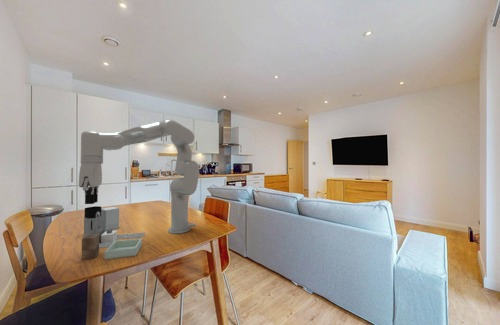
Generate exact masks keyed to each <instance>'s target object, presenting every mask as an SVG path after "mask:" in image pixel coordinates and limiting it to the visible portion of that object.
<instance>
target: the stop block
mask: <svg viewBox="0 0 500 325" xmlns="http://www.w3.org/2000/svg"><path fill="white" fill-rule="evenodd" d="M98 255H100V248H99V234H92V235H86V236H85V237H83V236H82V238H81V255H80V256H81V257H80V258H81V261H85V260H92V259H93V260H95V258H96V257H98Z"/></svg>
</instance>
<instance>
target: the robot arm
mask: <svg viewBox="0 0 500 325" xmlns="http://www.w3.org/2000/svg"><path fill="white" fill-rule="evenodd" d="M80 135H81V136H80V167H79V176H78V187H79V188H82V190H83V191H84V205H94V204H95V203H96V204H97V203H98V202H99V201H98V198H99V197H98V196H99V194H98V193H99V187H100V186H101V185H102V183H103V170H102V169H103V168H102V165H103V164H104V150H105V151H118V150H120V149H122V148H124V147H126V146H130V145H135V144H137V145H138V144H142V143H143V144H144V143H147V142H150V141H154V140H157V139H159V138H164V137H167V136H168V137H169V136H170V141H171V143H172V144H173V145H174V146H175V148H176V151H177V155H176V161H175V167H174V170H175V171H174V172H175V174H176V175H178V176H180V177H177V178H174V179H173V180H172V181H171V182H170V185H169V191H170V198H171V199H170V200H171V201H170V202H171V208H170V209H171V212H170V213H171V216H170V219H171V220H170V227H169V228H168V230H167V231H168V233H169V234H175V235H177V234H185V233H187V232H189V231H190V230H191V227H192V228H194V227H196V223H194V222H189V198H188V196H191V195H194V194H195V193H196V191H197V188H198V183H199V177H200V176H199V175H200V166H199V164H198V162H197V161H195V160H192V157H193V156H192V155H193V151H192V148H191V144H193V142H194V141H195V135H194V132H193V131H192V130H191V129H189V128H187V127H185V126H184V125H182V124H181V123H179V122H177V121H175V120H173V119H165V120H160V121H156V122H150V123H147V124H142V125H138V126H135V127H131V128H129V129H125V130H122V131H117V132H111V133H109V132H99V131H89V130H85V131H82V132H81V134H80Z"/></svg>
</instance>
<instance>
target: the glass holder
mask: <svg viewBox="0 0 500 325" xmlns="http://www.w3.org/2000/svg"><path fill="white" fill-rule="evenodd" d="M101 209H102V206H96V205H95V206H87V207H85V208H84V216H83V235H82V238H83V237H85V236H86V235H92V234H99V233H100V232H101V231H102V230H101V229H102V214H101Z"/></svg>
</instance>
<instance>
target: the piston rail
mask: <svg viewBox="0 0 500 325" xmlns="http://www.w3.org/2000/svg"><path fill="white" fill-rule="evenodd" d="M106 231H107V230H102V231H101V232H100V233H99V249H102V248H109V246H110V245H111V244H112V243H113V242H105V243H101V235H102V234H103V233H105V232H106ZM145 236H146V232H134V233H125V234H124V233H123V234H117V240H121V239H123V240H125V239H134V238H143V237H145Z"/></svg>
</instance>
